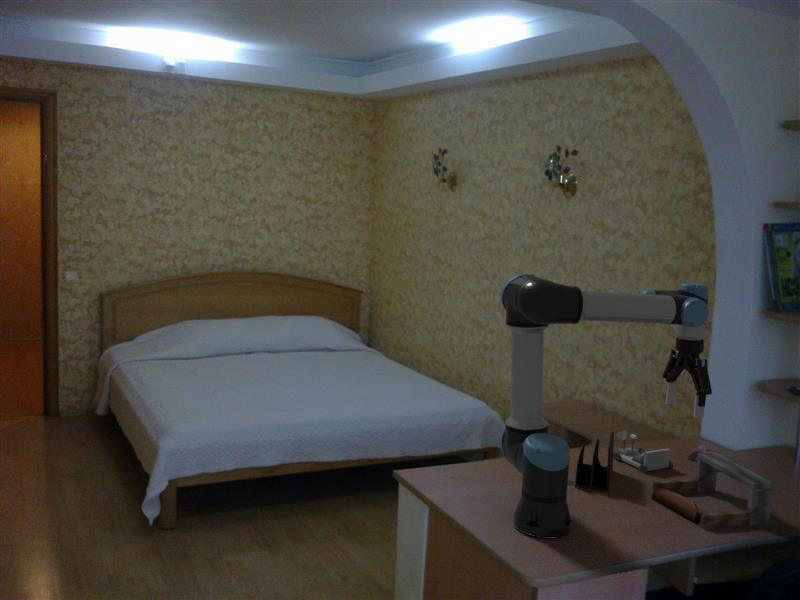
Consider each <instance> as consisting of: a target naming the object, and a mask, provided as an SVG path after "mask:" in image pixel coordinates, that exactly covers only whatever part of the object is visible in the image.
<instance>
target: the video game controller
mask: <svg viewBox="0 0 800 600" xmlns="http://www.w3.org/2000/svg"><path fill="white" fill-rule="evenodd" d="M711 452H713V451H712V449H711V448H709V447H708V446H704V445H703V446H702V445H699V446H697V447H696V448H695V449H694V450H692V451H691V452H689V453H688V454H687V456H686V457H687V460H689V459H690V460H689V461H693V460H695V459H696V460H697V454H698V453H711ZM696 466H697V464H696ZM696 466H695V467H696Z"/></svg>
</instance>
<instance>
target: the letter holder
mask: <svg viewBox="0 0 800 600" xmlns="http://www.w3.org/2000/svg"><path fill="white" fill-rule="evenodd" d="M614 437H615V432H614V431H611V433H610V436H609V442H608V446H607V447H608V448H607V466H606V465H605V466H604V465H601V461H600V458H599V450H600V449H599V447H600V439H599V438H597V439H596V442H595V444H594V450H593V452H592V453H593V454H592V457H591V458H592V460H591V464H589V463H588V464H587V463H584V457H585V456H584V453H585V447H586V446H585V444H583V443H582V445H581V448H580V452H579V455H578V458H577V462H576V469H575V480H574V488H575V487H579V488H578V489H581V488H583V490H588V489H590V491H597V492H604V493H609V492H610V486H611V480H612V474H613V470H614V458H613V454H614V446H615V445H614V444H615V443H614V439H615V438H614Z"/></svg>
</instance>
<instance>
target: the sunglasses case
mask: <svg viewBox="0 0 800 600" xmlns="http://www.w3.org/2000/svg"><path fill="white" fill-rule="evenodd" d="M651 499H652V500H654V501H657V502H658V503H660V504H663V505H666V506H667V507H668V508H670V509H672V510H674V511H676V512H677V513H679V514H681V515H682V516H683V517H686V518H687V519H689V520H691V521H692V522H694V523H695V524H697V525H698V524H700V519H701V514H707V513H709V512H708V511H707V510H705V509H704V508H702V507H701V506H699V505H697V504H696V502H695V501H693V500H692V499H690V498H688V497H686V496H684V495H682V494H681V493H675V492H672V491H668V490H664V489H656V490H655V491H654V492H653V493H652V494H651Z"/></svg>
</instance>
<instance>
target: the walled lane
mask: <svg viewBox="0 0 800 600" xmlns="http://www.w3.org/2000/svg"><path fill="white" fill-rule="evenodd" d="M696 465H697V466H695V478H690V479H688V478H687V479H676V480H675V479H674V480H658V481H656V480H655V481H653V482H652V493H653V492H654V491H655V490H656V489H664V490H668V491H672V492H675V493H677V494H689V493H690V494H691V493H703V492H715V491H716V489H717V488H716V487H717V486H716V485H717V475H718V471H719V472H721V473H723V474H725V475H727V476H728V477H730V478H732V479H733V480H735V481H737V482H739V483H741V484H742V485H744V486H746V487H747V488H748V496H747V497H748V498H747V506H746V507H747V508H746V510H736V511H735V510H734V511H724V512H712V513H711V512H710V513H709V512H708V513H707V514H701V519H700V523H699V527H700V528H701V529H702V530H706V529H719V528H727V527H728V528H730V527H742V526H743V527H745V526H756V525H768V524H769V523H770V515H771V505H772V504H771V503H772V495H773V486H774V485H773V484H774V483H773V482H772V481H769V480H768V479H767V478H764V477H763V476H761V475H759V474H757V473H755V472H753V471H751V470H750V469H748V468H745V467H744V466H742V465H741V464H738V463H736V462H735V461H733V460H730V459H729V458H727V457H725V456H723V455H721V454H719V453H717V452H716V451H715V452H714V451H712V452H711V453H698V454H697V458H696Z"/></svg>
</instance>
